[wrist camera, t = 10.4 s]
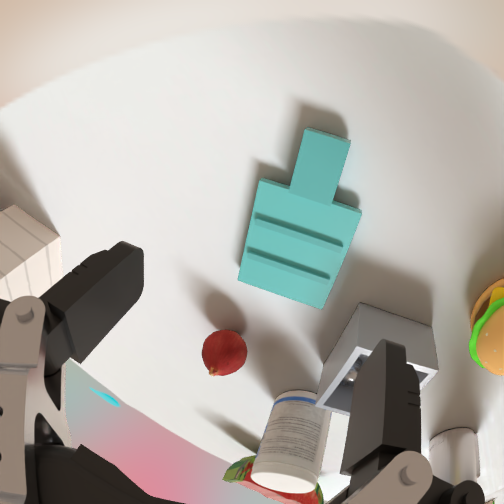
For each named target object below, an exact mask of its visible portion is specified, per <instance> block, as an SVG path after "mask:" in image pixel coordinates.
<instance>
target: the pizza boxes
mask: <svg viewBox="0 0 504 504" xmlns="http://www.w3.org/2000/svg"><path fill="white" fill-rule="evenodd" d="M62 278H63V269H62V256H61V240H60V236H59V235H58V234H56V233H55V232H53V231H52V230H50V229H49V228H47V227H46V226H45V225H43V224H42V223H40V222H39V221H37V220H36V219H34V218H33V217H32V216H30V215H29V214H27V213H26V212H24V211H23V210H22V209H20V208H19V207H17V206H16V205H15V204H14V205H12V206H10V207H8V208H6V209H5V210H3V211H1V212H0V299H3V300H7V301H10V302H12V301H13V300H15V299H17V298H19V297H22V296H35V297H37V298H39V297H40V296H41V295H42V294H44V293H45V292H46V291H47V290H48V289H50V288H51V287H52V286H53V285H54V284H56V283H57V282H58V281H59V280H60V279H62Z"/></svg>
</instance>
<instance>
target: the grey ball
mask: <svg viewBox="0 0 504 504" xmlns="http://www.w3.org/2000/svg"><path fill="white" fill-rule="evenodd" d="M361 366H362V360H361V359H360V358H357V360H356V361H355V363H354V364H353V365H352V367H351V368H350V370H349V371H348V372H347V374H346V375H345V376H344V378H343V379H342V381H341V382H340V384H341V385H342V386H345V387H354V382H355V379H356V376H357V374H358V372H359V370H360V368H361Z"/></svg>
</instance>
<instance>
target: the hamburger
mask: <svg viewBox="0 0 504 504" xmlns="http://www.w3.org/2000/svg"><path fill="white" fill-rule="evenodd" d="M470 324H471V331H472V335H471V339H470V341H469V351H470V355H471V358H472V359H473V360H474V361H475V362H476V363H477V364H478V365H479V366H480V367H482V368H486V369H487V370H489V371H490V372H491V373H493V374H496V375H501V376H503V375H504V278H503V279H501V280H499V281H497V282H495V283H494V284H492V285H491V286H490V287H488V288H487V289H486V290H485V291H484V292H483V294H482V295H481V296H480V297H479V299H478V300H477V302H476V304H475V306H474V308H473V311H472V315H471V320H470Z"/></svg>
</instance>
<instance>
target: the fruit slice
mask: <svg viewBox="0 0 504 504" xmlns="http://www.w3.org/2000/svg"><path fill="white" fill-rule="evenodd" d="M255 458H256V455H255V456H250V457H244V458H242V459H241V460H240V461H238V462H235V463H234V464H233V465H232V466H230V467H229V469H227V471H226V473H225V475H224V477H223V480H224V481H228V482H230V483H231V482H236V483H239V484H241V485H243V486H245V487H247V488H249V489H252V490H255V491H257V492H259V493H261V494H262V495H264V496H265V497H267V498H271V499H273V500H277V501H280V502H282V503H284V504H324V501H323V494H322V491H321V488H320V486H319V484H318V483H316V487H315V489H314V490H313V491H311V492H308V493H287V492H281V491H276V490H272V489H269V488H266V487H264V486H261V485H259V484H258V483H256V482H255V481H253V480H252V478H251V472H252V467H253V464H254V461H255Z"/></svg>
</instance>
